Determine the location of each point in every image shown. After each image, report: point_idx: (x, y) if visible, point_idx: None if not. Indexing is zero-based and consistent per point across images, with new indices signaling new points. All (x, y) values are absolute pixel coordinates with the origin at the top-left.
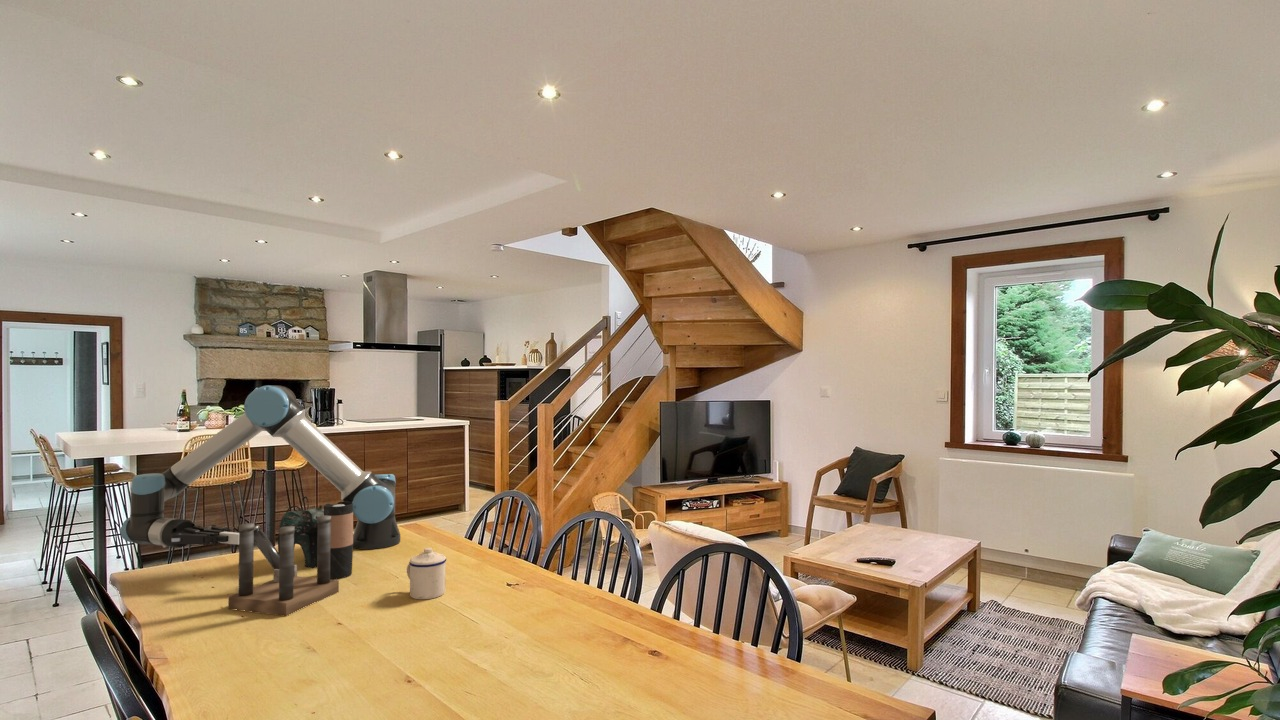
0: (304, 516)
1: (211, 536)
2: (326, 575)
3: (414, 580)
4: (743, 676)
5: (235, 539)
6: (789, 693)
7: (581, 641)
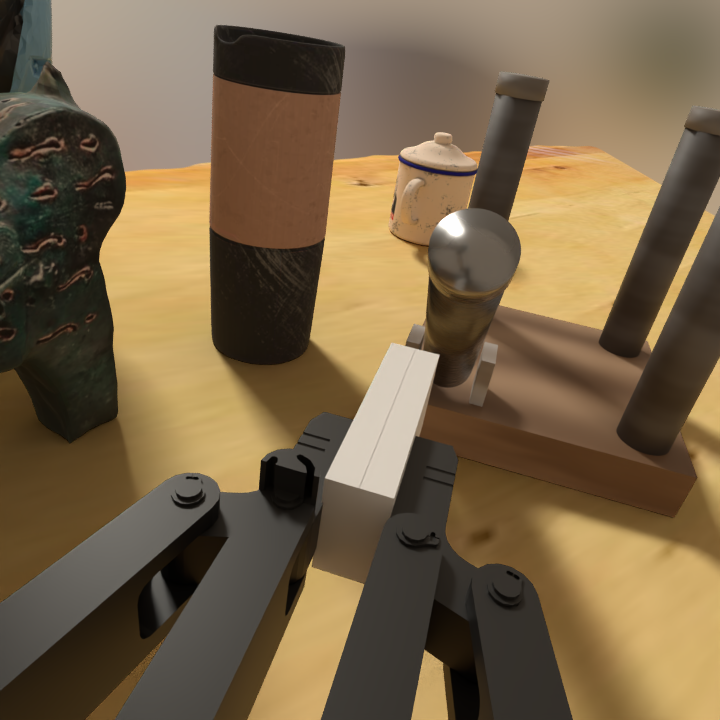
0: (54, 158)
1: (469, 570)
2: None
3: (465, 205)
4: (580, 158)
5: (424, 410)
6: (596, 155)
7: (555, 182)
